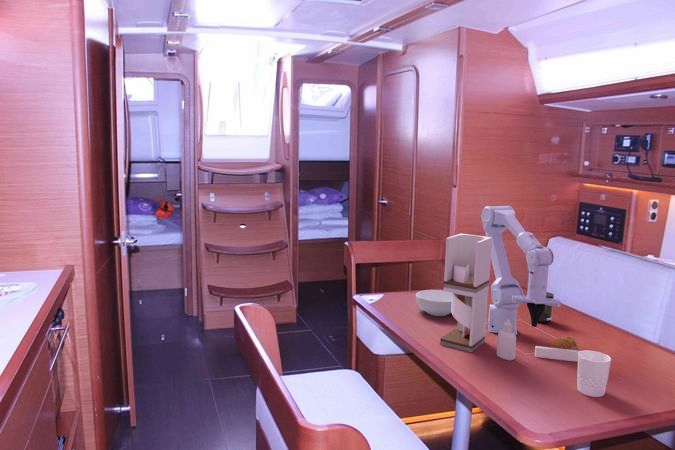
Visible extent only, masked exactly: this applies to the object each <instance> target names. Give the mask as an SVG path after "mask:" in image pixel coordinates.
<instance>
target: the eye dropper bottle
mask: <svg viewBox="0 0 675 450" xmlns="http://www.w3.org/2000/svg"><path fill="white" fill-rule="evenodd" d="M516 346H517V335H515V334H514V333H513V332H512V324H510V320H507V322H506V323H504V329H503V330H501V331H499V333H497V344H496V356H497V357H499V358H501V359H502V360H506V361H513V360H515V358H516V348H517V347H516Z"/></svg>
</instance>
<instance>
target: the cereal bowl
mask: <svg viewBox="0 0 675 450" xmlns="http://www.w3.org/2000/svg"><path fill="white" fill-rule="evenodd" d="M415 301H416V304H417V306H418V308H419V309H421V310H422V311H424V312H426V314H428V315H430V316H434V317H446V316H447V315H449V314H452V312H451V305H452V293H450V292H445V291H443V290H441V289H426V290H421V291H418V292H416V293H415Z"/></svg>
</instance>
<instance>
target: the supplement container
mask: <svg viewBox="0 0 675 450" xmlns="http://www.w3.org/2000/svg"><path fill="white" fill-rule="evenodd" d="M554 297H555V295H554V293H552V292H548V291H546V298H551V299H555V298H554ZM553 307H554V306H548V305H545V310H544V312H543V313H542V314H541V316H540V318H539V320H538V323H539V324H542V325H543V324H545V325H546V324H551V322H552V319H553V309H554V308H553ZM538 323H537V324H538Z"/></svg>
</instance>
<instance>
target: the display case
mask: <svg viewBox="0 0 675 450" xmlns="http://www.w3.org/2000/svg"><path fill="white" fill-rule="evenodd" d="M491 249H492V237H486V235H484V236H483V235H477V234H470V233H469V234H467V233H458V234H455V235H451V236H448V237H446V239H445V259H444V270H443V271H444V273H443V275H444V277H443V291H445V292H450V293H452V305H451V312H452V313H451V314H452V317H453V318H454V319H455V320H456V321H457V323H456V328H454V329H452V330H451V331H449V332H448V333H446V334H445V335H443V336H442V337H440V338H439V339H440V340H439V341H440V343H439V345H441V346H446V347H448V348H453V349H457V350H460V351H463V352H468V353H473V352H474V351H476V349H478V348H479V347H480V346H481V345H483V344H484V343H485V341H486V328H487V327H486V326H487V316H488V315H487V313H488V302H489V287H490V275H491V263H492V259H491Z"/></svg>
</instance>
